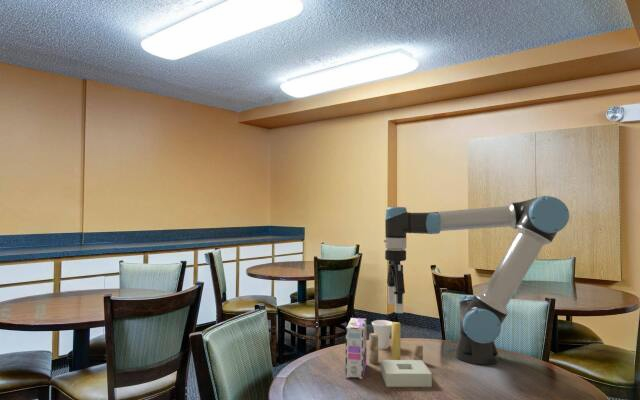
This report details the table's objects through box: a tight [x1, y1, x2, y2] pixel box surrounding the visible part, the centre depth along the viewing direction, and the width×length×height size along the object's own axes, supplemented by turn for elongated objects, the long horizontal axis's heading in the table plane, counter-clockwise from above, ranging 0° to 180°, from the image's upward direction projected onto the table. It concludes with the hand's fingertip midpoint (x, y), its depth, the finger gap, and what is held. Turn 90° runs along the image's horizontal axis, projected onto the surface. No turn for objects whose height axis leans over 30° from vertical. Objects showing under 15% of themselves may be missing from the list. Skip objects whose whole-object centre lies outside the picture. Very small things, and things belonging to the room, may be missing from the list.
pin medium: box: [368, 332, 379, 365], centre depth 149 cm, size 3×3×10 cm
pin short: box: [413, 343, 424, 362], centre depth 150 cm, size 3×3×6 cm
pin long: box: [391, 321, 402, 360], centre depth 150 cm, size 3×3×14 cm
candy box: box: [345, 317, 367, 380], centre depth 141 cm, size 14×6×16 cm, turn 168°
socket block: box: [380, 359, 433, 388], centre depth 134 cm, size 14×12×4 cm
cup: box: [371, 319, 393, 350], centre depth 166 cm, size 9×9×10 cm
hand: (395, 308), depth 150 cm, fingers open, 13 cm apart
